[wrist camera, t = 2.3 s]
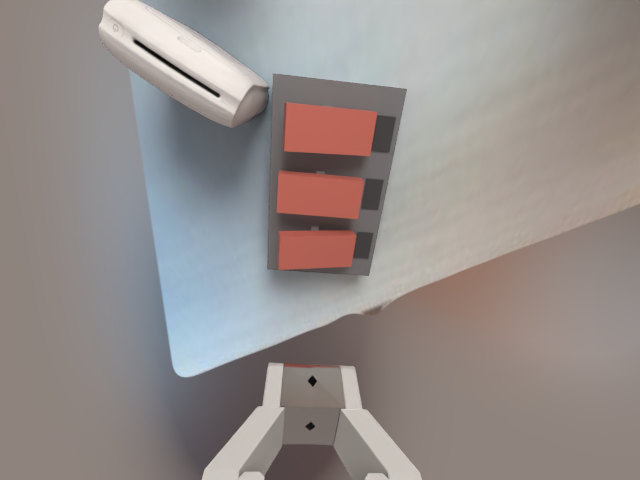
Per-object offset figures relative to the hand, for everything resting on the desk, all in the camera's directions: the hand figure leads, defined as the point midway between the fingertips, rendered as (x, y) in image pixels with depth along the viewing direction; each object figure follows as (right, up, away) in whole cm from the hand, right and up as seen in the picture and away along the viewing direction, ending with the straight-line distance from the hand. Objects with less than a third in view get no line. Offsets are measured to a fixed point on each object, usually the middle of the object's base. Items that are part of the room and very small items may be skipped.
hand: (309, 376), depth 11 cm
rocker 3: (0, +4, +22) cm, 23 cm away
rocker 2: (0, +10, +20) cm, 22 cm away
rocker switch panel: (+1, +12, +24) cm, 27 cm away
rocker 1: (+1, +15, +17) cm, 23 cm away
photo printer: (-9, +21, +19) cm, 30 cm away
